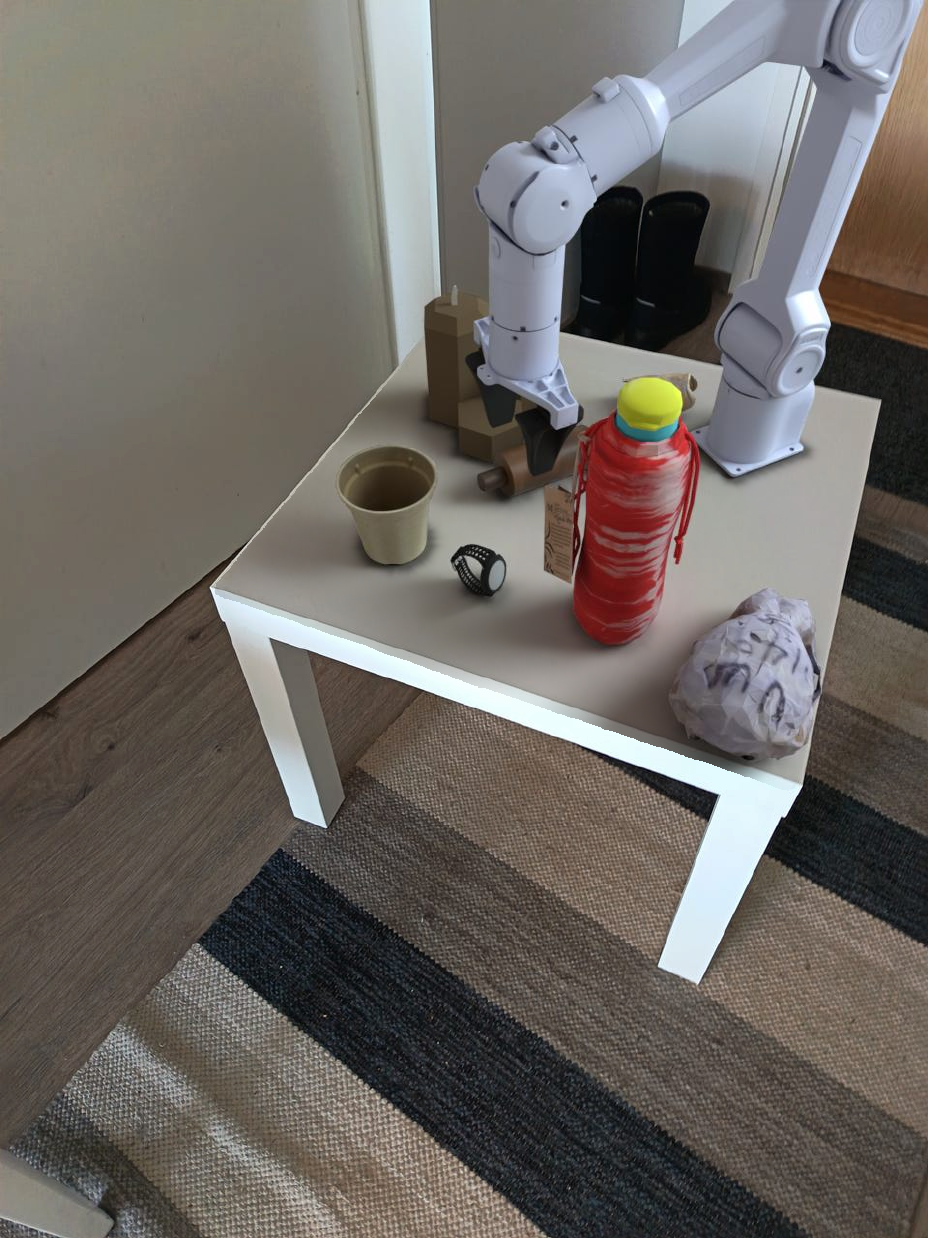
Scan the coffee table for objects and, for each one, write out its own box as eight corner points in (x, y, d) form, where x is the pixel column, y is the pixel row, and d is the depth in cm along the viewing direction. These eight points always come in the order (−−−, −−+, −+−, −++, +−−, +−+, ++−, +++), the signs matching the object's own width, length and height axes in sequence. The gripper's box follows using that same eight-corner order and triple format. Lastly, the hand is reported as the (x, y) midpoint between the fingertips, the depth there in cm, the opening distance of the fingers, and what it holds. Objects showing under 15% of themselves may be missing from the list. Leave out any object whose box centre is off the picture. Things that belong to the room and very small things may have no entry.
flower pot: (330, 564, 83) (316, 498, 77) (372, 501, 89) (362, 434, 82) (419, 589, 81) (412, 523, 74) (456, 523, 86) (453, 456, 80)
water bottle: (520, 635, 77) (529, 407, 58) (543, 572, 82) (559, 341, 63) (653, 668, 75) (710, 440, 55) (669, 601, 79) (727, 369, 60)
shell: (626, 423, 96) (620, 382, 94) (628, 415, 100) (623, 375, 98) (700, 411, 94) (695, 369, 92) (699, 402, 98) (695, 362, 96)
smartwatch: (480, 613, 79) (479, 576, 75) (447, 580, 82) (445, 543, 78) (515, 592, 81) (516, 555, 77) (481, 560, 83) (481, 523, 79)
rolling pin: (595, 442, 94) (599, 408, 90) (618, 467, 91) (623, 432, 88) (471, 486, 90) (470, 452, 86) (491, 514, 87) (491, 479, 84)
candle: (399, 431, 96) (386, 308, 84) (458, 367, 103) (454, 246, 92) (507, 468, 91) (510, 344, 80) (561, 398, 99) (571, 276, 87)
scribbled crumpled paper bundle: (745, 611, 80) (778, 529, 73) (863, 680, 75) (911, 599, 68) (626, 728, 70) (651, 646, 63) (753, 818, 65) (797, 739, 58)
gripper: (440, 282, 71) (446, 415, 82) (525, 374, 63) (520, 509, 74) (514, 261, 73) (511, 394, 84) (607, 347, 65) (591, 482, 75)
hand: (520, 446), depth 79 cm, fingers open, 7 cm apart
